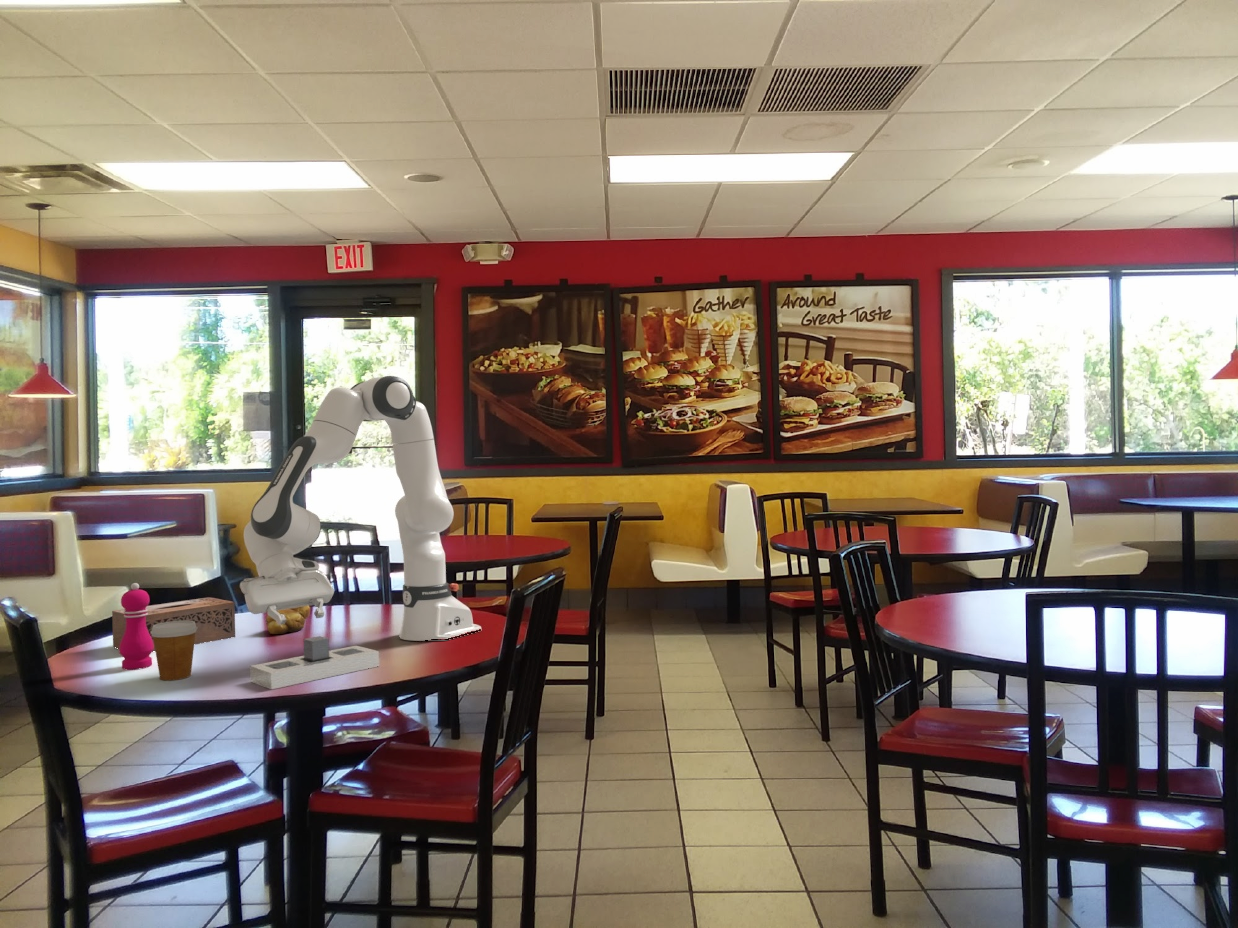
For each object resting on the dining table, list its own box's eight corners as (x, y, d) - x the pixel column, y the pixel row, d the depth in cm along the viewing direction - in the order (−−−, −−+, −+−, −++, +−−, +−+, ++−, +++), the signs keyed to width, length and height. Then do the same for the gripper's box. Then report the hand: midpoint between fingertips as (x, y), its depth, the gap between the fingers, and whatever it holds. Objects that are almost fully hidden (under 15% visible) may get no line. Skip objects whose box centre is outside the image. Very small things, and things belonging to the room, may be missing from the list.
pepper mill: (139, 670, 208) (137, 585, 208) (112, 669, 209) (110, 585, 209) (161, 663, 215) (158, 580, 215) (135, 662, 216) (132, 580, 216)
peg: (320, 670, 205) (319, 636, 204) (329, 673, 202) (328, 638, 202) (304, 674, 202) (303, 638, 202) (313, 677, 199) (312, 641, 199)
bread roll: (281, 637, 244) (280, 608, 244) (254, 635, 248) (253, 606, 247) (314, 628, 256) (313, 600, 256) (287, 626, 260) (286, 599, 259)
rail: (356, 659, 215) (356, 645, 215) (379, 666, 208) (378, 651, 208) (250, 681, 196) (250, 665, 196) (271, 689, 189) (271, 672, 189)
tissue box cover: (210, 632, 254) (209, 597, 254) (235, 638, 245) (234, 601, 245) (113, 648, 234) (112, 610, 234) (136, 655, 225) (135, 616, 225)
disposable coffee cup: (166, 671, 206) (164, 620, 206) (206, 671, 206) (205, 619, 206) (142, 682, 197) (141, 628, 197) (185, 682, 196) (183, 628, 196)
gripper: (241, 571, 204) (262, 618, 197) (323, 560, 219) (345, 604, 212) (233, 588, 207) (254, 635, 200) (315, 577, 222) (336, 620, 215)
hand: (302, 619), depth 206 cm, fingers open, 8 cm apart
